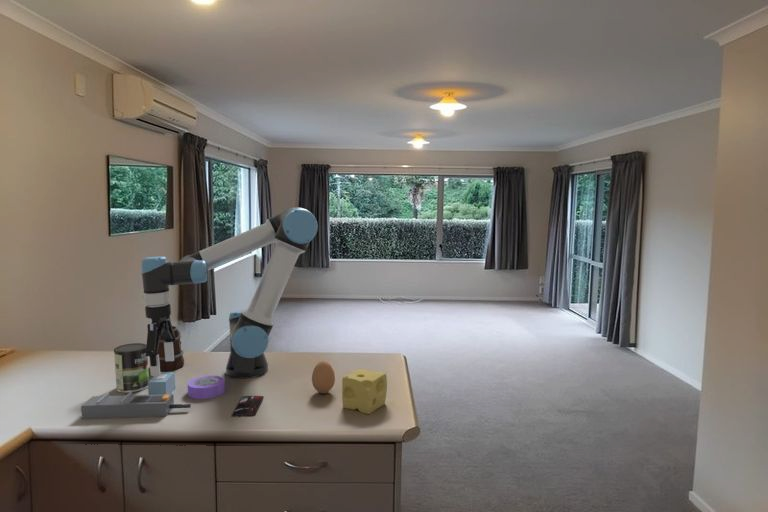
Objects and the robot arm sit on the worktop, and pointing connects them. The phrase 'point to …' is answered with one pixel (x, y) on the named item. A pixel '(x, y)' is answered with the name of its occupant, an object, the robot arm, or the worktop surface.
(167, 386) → the block
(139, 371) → the coffee can
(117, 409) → the power strip
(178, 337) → the mug
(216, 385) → the masking tape
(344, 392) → the cheese
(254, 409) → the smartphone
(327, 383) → the egg
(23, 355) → the worktop surface
